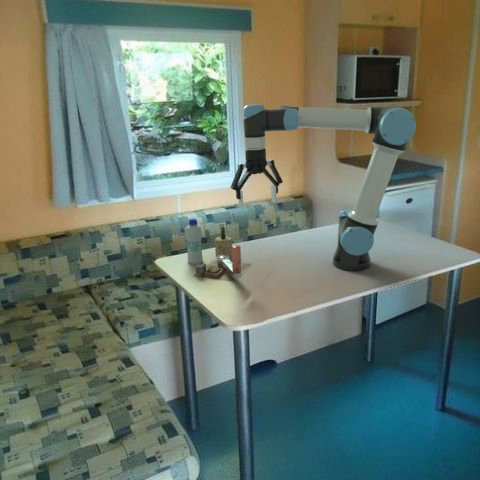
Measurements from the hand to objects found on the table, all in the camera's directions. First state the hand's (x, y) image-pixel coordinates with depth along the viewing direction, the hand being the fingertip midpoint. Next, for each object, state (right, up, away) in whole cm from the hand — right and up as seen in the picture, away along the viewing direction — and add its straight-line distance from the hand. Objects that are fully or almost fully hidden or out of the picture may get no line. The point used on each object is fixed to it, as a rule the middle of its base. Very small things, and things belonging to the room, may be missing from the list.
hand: (257, 204), depth 185 cm
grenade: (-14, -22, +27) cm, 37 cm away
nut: (-17, -27, +7) cm, 32 cm away
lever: (-11, -25, +5) cm, 27 cm away
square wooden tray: (-13, -27, +11) cm, 32 cm away
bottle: (-25, -24, +21) cm, 41 cm away
